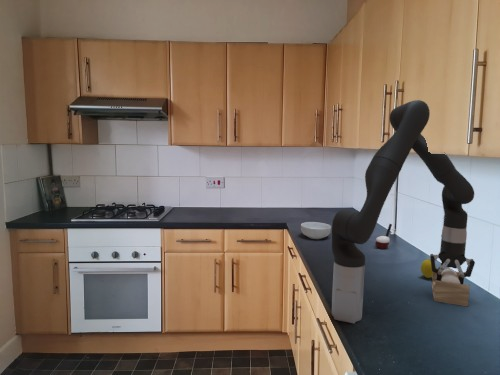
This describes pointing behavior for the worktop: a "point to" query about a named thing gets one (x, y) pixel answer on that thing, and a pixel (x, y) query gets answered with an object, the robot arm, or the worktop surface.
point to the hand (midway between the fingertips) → (449, 285)
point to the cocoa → (383, 240)
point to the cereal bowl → (315, 229)
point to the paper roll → (450, 276)
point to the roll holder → (450, 291)
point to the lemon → (427, 268)
